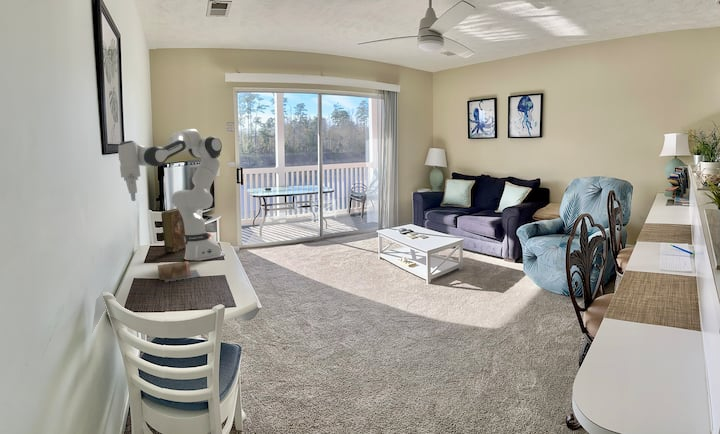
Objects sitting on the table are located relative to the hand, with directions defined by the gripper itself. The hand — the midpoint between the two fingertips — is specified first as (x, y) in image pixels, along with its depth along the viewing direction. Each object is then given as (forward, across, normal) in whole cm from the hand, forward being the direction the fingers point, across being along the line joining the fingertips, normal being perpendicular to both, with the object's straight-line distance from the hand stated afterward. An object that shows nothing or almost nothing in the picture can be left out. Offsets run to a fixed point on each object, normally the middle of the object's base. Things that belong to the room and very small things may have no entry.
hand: (133, 200), depth 237 cm
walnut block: (+34, -22, -7) cm, 41 cm away
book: (+37, +42, -22) cm, 60 cm away
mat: (+37, -22, -17) cm, 46 cm away
